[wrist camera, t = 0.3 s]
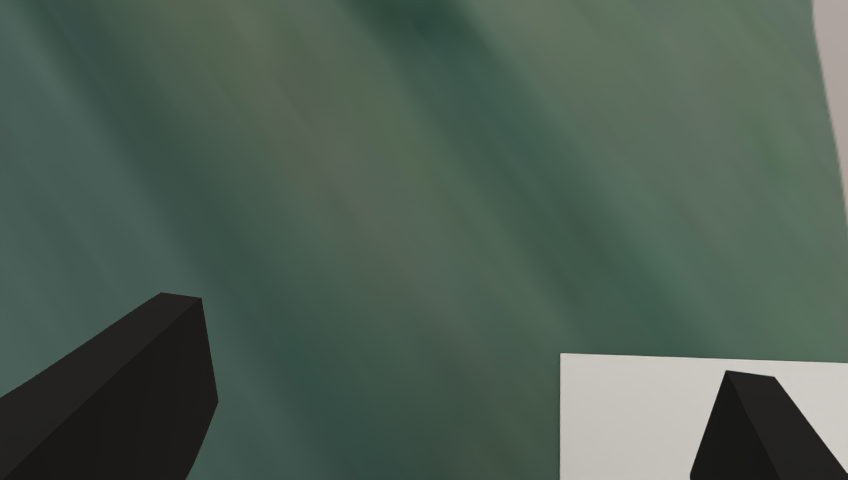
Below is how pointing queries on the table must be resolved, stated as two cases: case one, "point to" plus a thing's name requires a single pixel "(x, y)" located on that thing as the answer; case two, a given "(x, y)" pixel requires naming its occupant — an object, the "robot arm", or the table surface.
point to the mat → (673, 410)
